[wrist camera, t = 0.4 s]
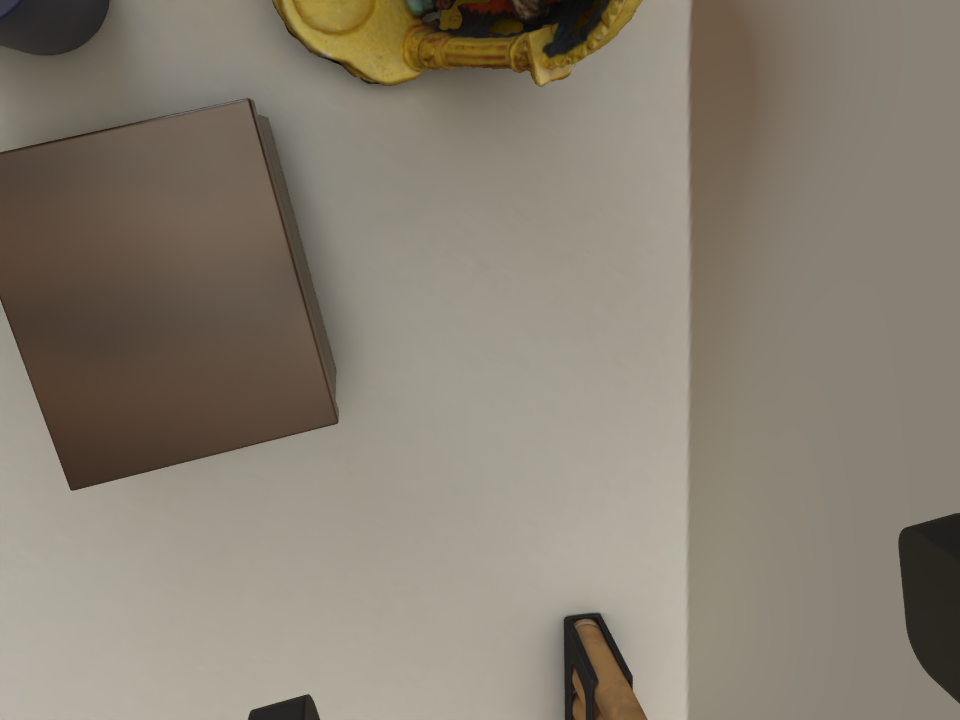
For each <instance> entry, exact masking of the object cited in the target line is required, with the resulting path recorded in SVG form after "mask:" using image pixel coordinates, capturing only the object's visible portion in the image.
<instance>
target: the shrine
mask: <svg viewBox="0 0 960 720" xmlns="http://www.w3.org/2000/svg"><path fill="white" fill-rule="evenodd" d="M272 2H273V4H274V7H275V8H276V10H277V12H278V14H279V15H280V17H281V19H282V20H283V21H284V23H285V26H286V29H287V30H288V32H289V33H290V34H291V35H292V36H293V37H295V38H296V39H298V40H299V41H300V42H301V43H302V44H303V45H304V46H305V47H306V48H307V49H308V51H309V52H310V53H313V54H315V55H317V56H319V57H322V58H325V59H328V60H330V61H332V62H334V63H337V64H339V65H341V66H343V67H344V68H345V69H346V70H347V71H348V72H349V73H350V74H351V75H353V76H354V77H360V79H361V80H363V81H364V82H366V83H368V84H382V85H385V86H392V85H396V84H399V83H401V82H405V81H408V80H413V79H416V78H417V77H418V76H420V75H421V73H422V72H423V71H424V70H429V69H432V70H438V69H440V68H442V69H445V70H449V69H451V68H454V67H472V68H477V67H479V68H480V67H482V68H492V69H499V68H501V69H507V68H510V69H513V70H514V71H515V72H518V73H521V72H524V71H526V70H527V71H530V72H531V76H532V79H533V80H534V82H535V84H537V85H538V86H539V87H542V86H544V85H545V84H546V83H548V82H549V81H556V80H561V79H564V78H566V77H568V76H569V75H570V73H571V69H572V67H574V66H575V64H576V63H577V62H579V61H580V60H583V59H584V58H586V56H588V55H590V54H592V53H594V52H595V51H597V50H598V49H600V48H601V47H603V46H604V45H606V44H607V43H608V42H610V41H611V40H612V39H613V38H614V37H615V36H616V35H617V34H618V33H619V31H620V30H621V29H622V28H623V27H624V26H625V25H626V24H627V23H628V22H629V21H630V20H631V19H632V17H633V15H634V13H635V11H636V9H637V7H638V6H639V5H640V4H641V2H642V0H272ZM441 9H442V11H441V17H440V19H435V20H434V21H432V22H430V23H429V24H428V23H425V22H423V21H422V18H423V17H424V16H425V15H426V14H428V13H431V12H437V11H438V10H441Z"/></svg>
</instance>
